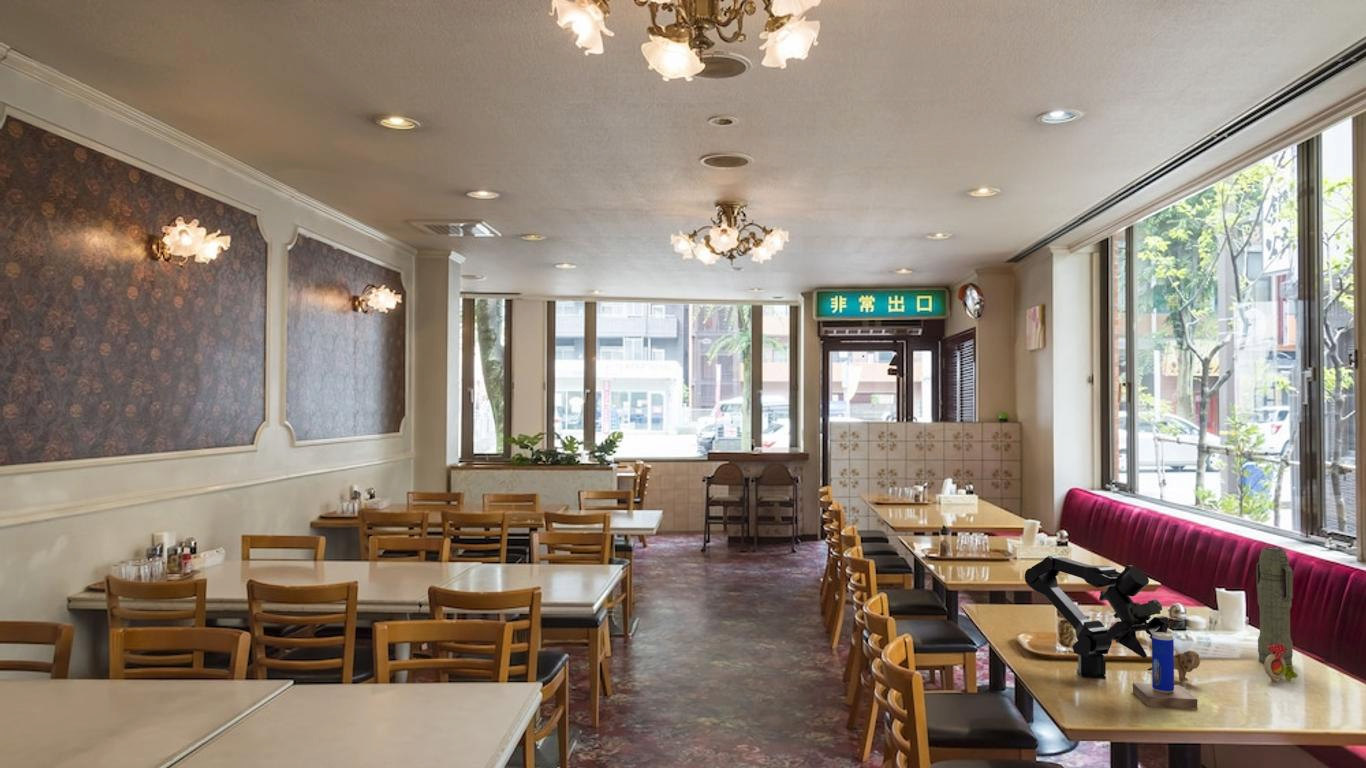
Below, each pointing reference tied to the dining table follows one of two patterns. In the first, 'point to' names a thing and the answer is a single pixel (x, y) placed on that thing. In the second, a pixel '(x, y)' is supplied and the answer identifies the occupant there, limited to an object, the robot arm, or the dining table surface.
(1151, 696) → the walnut base board
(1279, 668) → the bird rattle
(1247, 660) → the dining table surface
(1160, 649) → the beverage can
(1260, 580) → the grey-green panelled tower
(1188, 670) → the lion figurine
